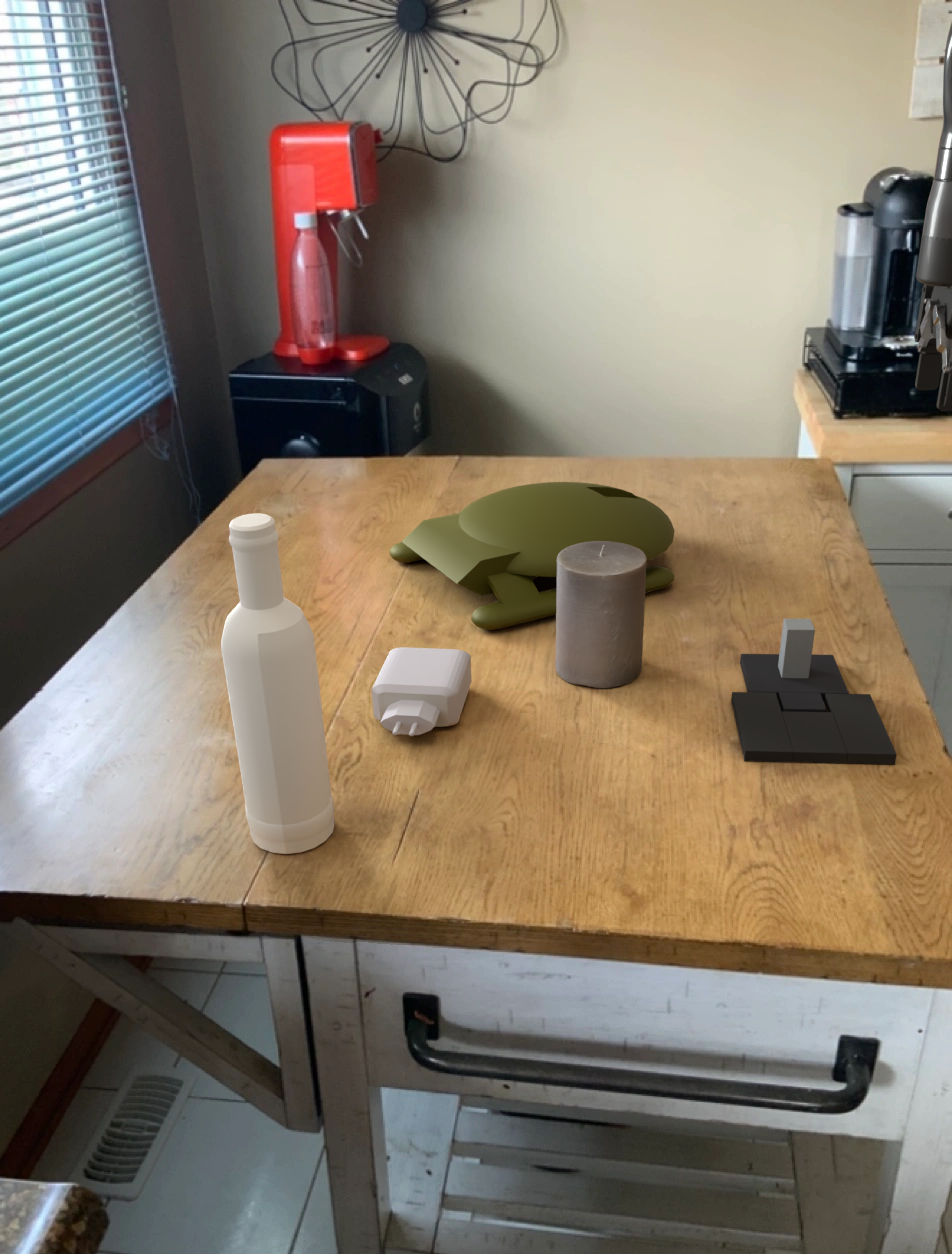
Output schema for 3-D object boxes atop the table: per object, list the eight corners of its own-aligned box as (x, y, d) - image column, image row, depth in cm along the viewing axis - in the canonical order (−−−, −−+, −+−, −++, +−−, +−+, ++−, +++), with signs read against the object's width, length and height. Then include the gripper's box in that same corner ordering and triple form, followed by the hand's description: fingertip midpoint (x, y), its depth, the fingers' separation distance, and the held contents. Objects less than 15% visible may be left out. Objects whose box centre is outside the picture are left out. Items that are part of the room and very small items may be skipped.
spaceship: (483, 638, 137) (481, 563, 132) (384, 558, 161) (379, 491, 157) (719, 579, 148) (725, 508, 144) (593, 512, 173) (595, 449, 168)
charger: (360, 752, 115) (391, 683, 128) (449, 758, 113) (471, 687, 126) (356, 712, 113) (388, 646, 126) (447, 717, 111) (470, 649, 124)
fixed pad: (868, 703, 118) (870, 693, 118) (895, 764, 108) (897, 754, 107) (731, 701, 120) (732, 691, 120) (744, 761, 110) (745, 750, 109)
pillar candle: (616, 644, 134) (621, 523, 126) (657, 679, 125) (664, 553, 118) (540, 660, 131) (541, 537, 124) (577, 696, 123) (580, 568, 116)
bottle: (333, 801, 108) (300, 499, 93) (338, 850, 101) (303, 532, 86) (249, 811, 107) (202, 508, 92) (249, 860, 100) (198, 542, 85)
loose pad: (831, 663, 126) (840, 606, 123) (854, 720, 116) (864, 659, 112) (739, 662, 128) (745, 606, 124) (753, 718, 117) (760, 657, 113)
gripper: (1032, 237, 102) (997, 417, 110) (984, 218, 114) (955, 381, 122) (944, 241, 103) (915, 419, 111) (906, 222, 115) (882, 384, 123)
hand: (936, 399), depth 116 cm, fingers open, 8 cm apart
